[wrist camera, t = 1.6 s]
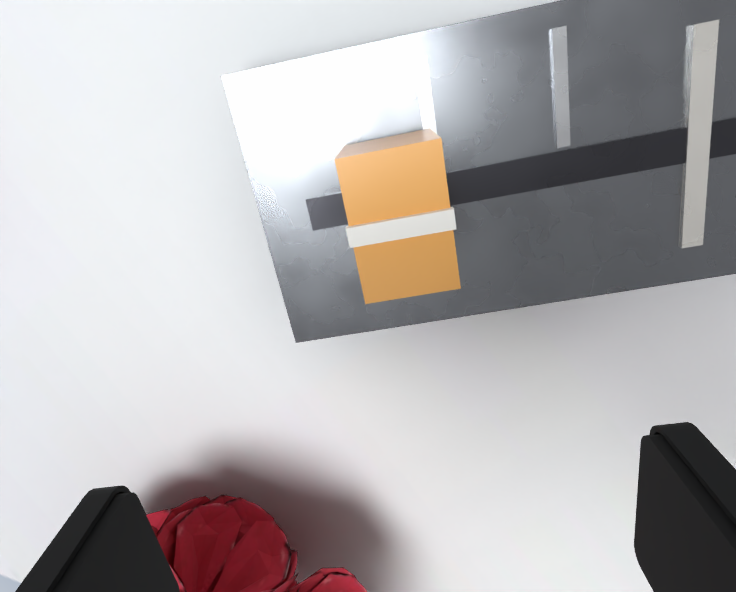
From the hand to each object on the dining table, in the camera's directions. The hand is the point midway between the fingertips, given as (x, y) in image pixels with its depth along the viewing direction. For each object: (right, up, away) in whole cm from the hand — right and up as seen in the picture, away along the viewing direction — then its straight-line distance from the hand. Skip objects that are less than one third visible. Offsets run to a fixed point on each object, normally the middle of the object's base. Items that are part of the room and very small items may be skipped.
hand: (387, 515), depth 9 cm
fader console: (+9, +12, +18) cm, 23 cm away
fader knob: (+1, +9, +15) cm, 17 cm away
